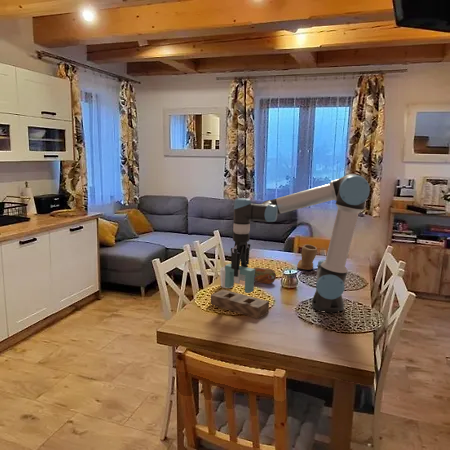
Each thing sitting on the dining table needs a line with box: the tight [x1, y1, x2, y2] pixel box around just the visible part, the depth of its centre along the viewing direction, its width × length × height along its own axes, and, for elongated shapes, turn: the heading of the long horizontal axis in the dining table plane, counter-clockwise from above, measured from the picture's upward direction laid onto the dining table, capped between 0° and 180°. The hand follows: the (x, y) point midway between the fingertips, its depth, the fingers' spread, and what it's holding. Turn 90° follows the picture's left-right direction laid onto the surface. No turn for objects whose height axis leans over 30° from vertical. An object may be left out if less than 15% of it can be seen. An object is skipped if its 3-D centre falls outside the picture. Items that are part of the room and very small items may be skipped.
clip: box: [224, 263, 255, 294], centre depth 188 cm, size 14×4×10 cm, turn 55°
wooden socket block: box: [210, 289, 270, 319], centre depth 190 cm, size 26×10×5 cm, turn 55°
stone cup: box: [296, 243, 318, 271], centre depth 258 cm, size 15×12×15 cm
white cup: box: [219, 266, 234, 289], centre depth 220 cm, size 8×8×10 cm
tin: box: [252, 266, 277, 285], centre depth 228 cm, size 15×3×8 cm, turn 68°
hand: (239, 281), depth 189 cm, fingers closed on clip, 4 cm apart
